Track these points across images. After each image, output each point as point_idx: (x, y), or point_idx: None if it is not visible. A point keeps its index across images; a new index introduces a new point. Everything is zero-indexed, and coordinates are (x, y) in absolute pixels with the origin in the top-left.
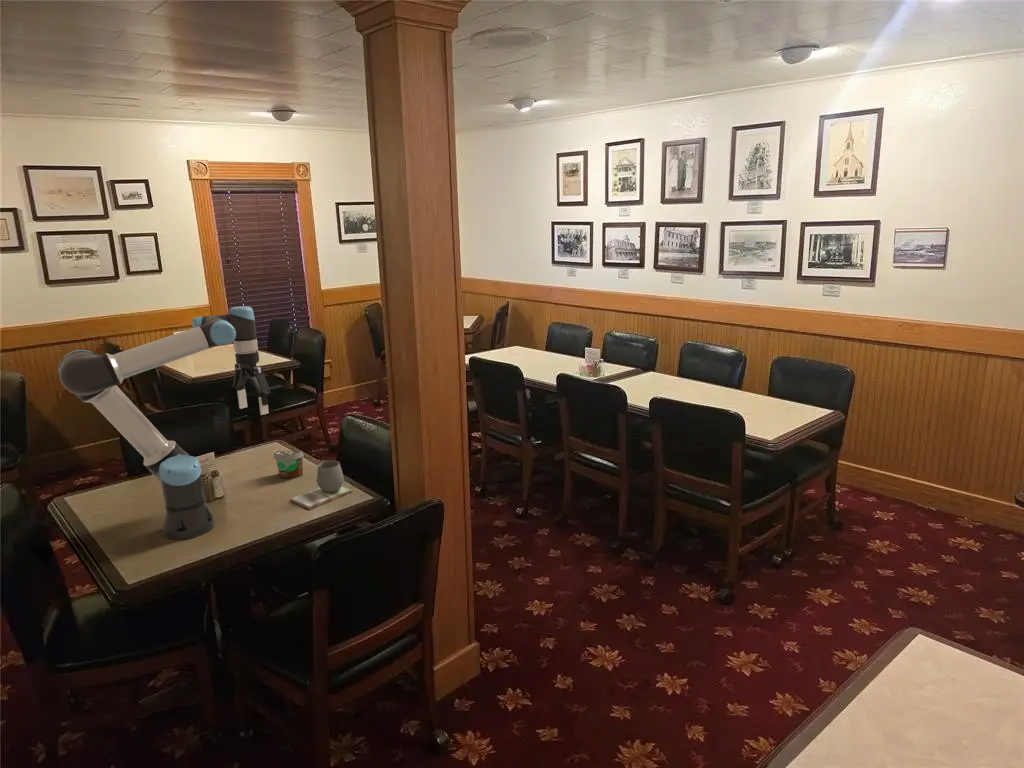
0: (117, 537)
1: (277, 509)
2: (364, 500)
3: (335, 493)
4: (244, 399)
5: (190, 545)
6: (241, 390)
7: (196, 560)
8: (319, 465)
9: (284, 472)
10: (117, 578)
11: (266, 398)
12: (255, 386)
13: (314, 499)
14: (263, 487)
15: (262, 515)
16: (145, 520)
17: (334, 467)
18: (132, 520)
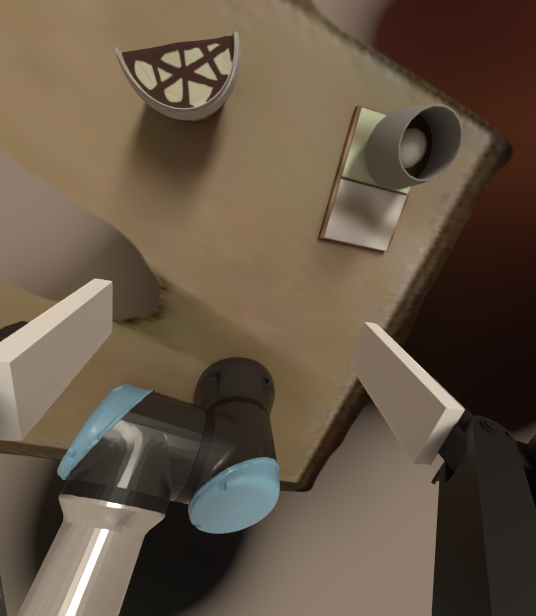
0: None
1: (320, 276)
2: (475, 160)
3: None
4: (80, 327)
5: (284, 414)
6: (14, 407)
7: (326, 429)
8: (396, 155)
9: (201, 118)
10: None
11: (463, 415)
12: (445, 575)
13: (376, 218)
14: (198, 199)
15: (312, 306)
16: None
17: (455, 158)
18: None
